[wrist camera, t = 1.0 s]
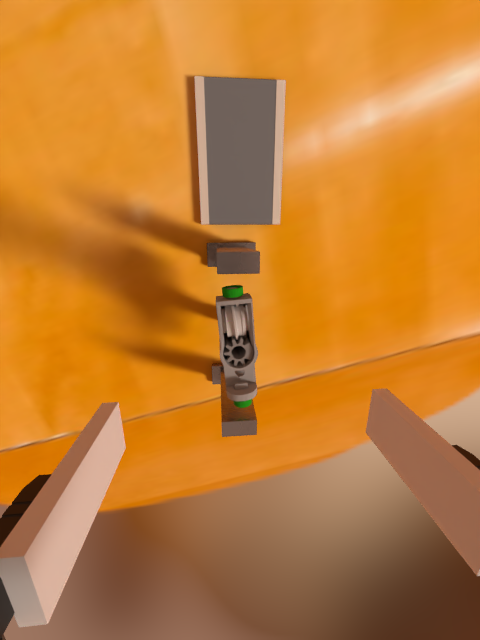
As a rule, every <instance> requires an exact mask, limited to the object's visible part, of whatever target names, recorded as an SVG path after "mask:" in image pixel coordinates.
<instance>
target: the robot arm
mask: <svg viewBox="0 0 480 640" xmlns="http://www.w3.org/2000/svg"><path fill="white" fill-rule="evenodd" d="M366 433H367V435H368V436H369V437H370V438H371V440H372V441H373V442H374V444H375V445H376V446H377V448H378V449H379V450H380V451H381V452H382V454H383V455H384V457H385V458H386V459H387V460H388V462H389V463H390V464H391V466H392V467H393V468H394V469H395V471H396V472H397V473H398V475H399V476H400V477H401V478H402V480H403V481H404V482H405V484H406V485H407V486H408V487H409V489H410V490H411V491H412V493H413V494H414V495H415V497H416V498H417V499H418V500H419V502H420V503H421V504H422V506H423V507H424V508H425V510H426V511H427V512H428V513H429V515H430V516H431V517H432V519H433V520H434V521H435V522H436V524H437V525H438V526H439V528H440V529H441V530H442V531H443V533H444V534H445V535H446V537H447V538H448V539H449V541H450V542H451V543H452V544H453V546H454V547H455V548H456V550H457V551H458V552H459V553H460V555H461V556H462V557H463V558H464V560H465V561H466V563H468V565H469V566H470V567H471V569H472V570H473V572H474V573H475V574H476V575H477V576H480V460H479V459H478V458H476V457H475V456H474V455H473V454H471V453H469V452H468V451H466V450H464V449H462V448H461V447H459V446H457V445H450V444H449V443H448V442H447V441H446V440H445V439H443V438H442V437H441V436H440V435H439V434H438V433H437V432H435V431H434V430H433V429H432V428H431V427H430V426H429V425H427V424H426V423H425V422H424V421H423V420H422V419H421V418H419V417H418V416H417V415H416V414H415V413H414V412H413V411H411V410H410V409H409V408H408V407H407V406H406V405H405V404H403V403H402V402H401V401H400V400H399V399H398V398H397V397H395V396H394V395H393V394H392V393H391V392H390V391H389V390H387V389H373V391H372V397H371V403H370V409H369V416H368V422H367V428H366ZM125 448H126V447H125V440H124V434H123V428H122V422H121V415H120V409H119V403H118V402H114V403H102V404H101V406H100V407H99V408H98V410H97V411H96V413H95V414H94V416H93V417H92V418H91V420H90V421H89V423H88V424H87V425H86V427H85V428H84V430H83V431H82V432H81V434H80V435H79V437H78V438H77V440H76V441H75V442H74V444H73V445H72V447H71V448H70V449H69V451H68V452H67V454H66V455H65V456H64V458H63V459H62V461H61V462H60V464H59V465H58V466H57V468H56V469H55V471H54V472H53V473H52V474H49V475H39V476H38V477H36V478H35V479H34V480H33V481H31V482H30V483H29V484H28V485H27V486H25V487H24V488H23V489H22V491H21V492H20V493H19V494H18V496H17V497H16V498H15V500H14V501H13V502H12V505H11V506H9V507H8V508H7V510H6V511H5V512H4V514H3V515H2V518H0V640H6V639H5V637H4V635H3V633H4V632H5V630H6V628H7V626H8V624H9V622H10V621H11V618H12V617H13V615H14V616H15V619H16V621H17V623H18V626H19V627H26V626H35V625H44V624H48V622H49V620H50V618H51V615H52V613H53V611H54V609H55V606H56V604H57V602H58V600H59V597H60V595H61V593H62V591H63V588H64V586H65V584H66V581H67V579H68V577H69V575H70V572H71V570H72V568H73V565H74V563H75V561H76V559H77V557H78V554H79V552H80V550H81V547H82V545H83V543H84V541H85V539H86V536H87V534H88V532H89V530H90V527H91V525H92V523H93V520H94V518H95V516H96V514H97V511H98V509H99V507H100V505H101V502H102V500H103V498H104V496H105V493H106V491H107V489H108V487H109V484H110V482H111V480H112V478H113V475H114V473H115V471H116V469H117V466H118V464H119V462H120V460H121V457H122V455H123V453H124V451H125Z"/></svg>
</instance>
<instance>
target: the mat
mask: <svg viewBox="0 0 480 640" xmlns="http://www.w3.org/2000/svg"><path fill="white" fill-rule="evenodd" d="M194 77H195V99H196V121H197V143H198V165H199V187H200V210H201V224H280V213H281V188H282V162H283V136H284V111H285V85H286V80H267V79H244V78H221V77H203V76H194Z"/></svg>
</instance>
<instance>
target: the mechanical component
mask: <svg viewBox="0 0 480 640" xmlns="http://www.w3.org/2000/svg"><path fill="white" fill-rule="evenodd" d="M222 293H223V296H216V308H217V317H218V326H219V335H220V359H221V361H222V363H223V366H224V373H225V382H226V392H227V397H228V398H229V399H230V400H233V401H234V405H235V406H236V407H239V408H245V407H248V406H250V405H251V403H252V399H253V398H254V397H255V396H256V395H257V385H256V378H255V365H254V363H255V361H256V359H257V356H258V351H257V347H256V344H255V334H254V319H253V305H252V298H251V296H250V294H248V293H246V294H243V286H241V285H232V286H226V287H223V288H222Z"/></svg>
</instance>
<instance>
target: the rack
mask: <svg viewBox="0 0 480 640" xmlns="http://www.w3.org/2000/svg"><path fill="white" fill-rule="evenodd" d="M207 256H208V267H217V274H254V273H259V270H260V252H259V251H256V250H255V243H207ZM212 381H213V384H221V412H222V437H227V436H243V435H257V419H256V414H255V410H254V405H253V400H252V403H251V405H250V406H248V407H245V408H239V407H236V406H235V405H234V401H233V400H230V399H229V398H228V397H227V392H226V382H225V373H224V366H223V364H212Z"/></svg>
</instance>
